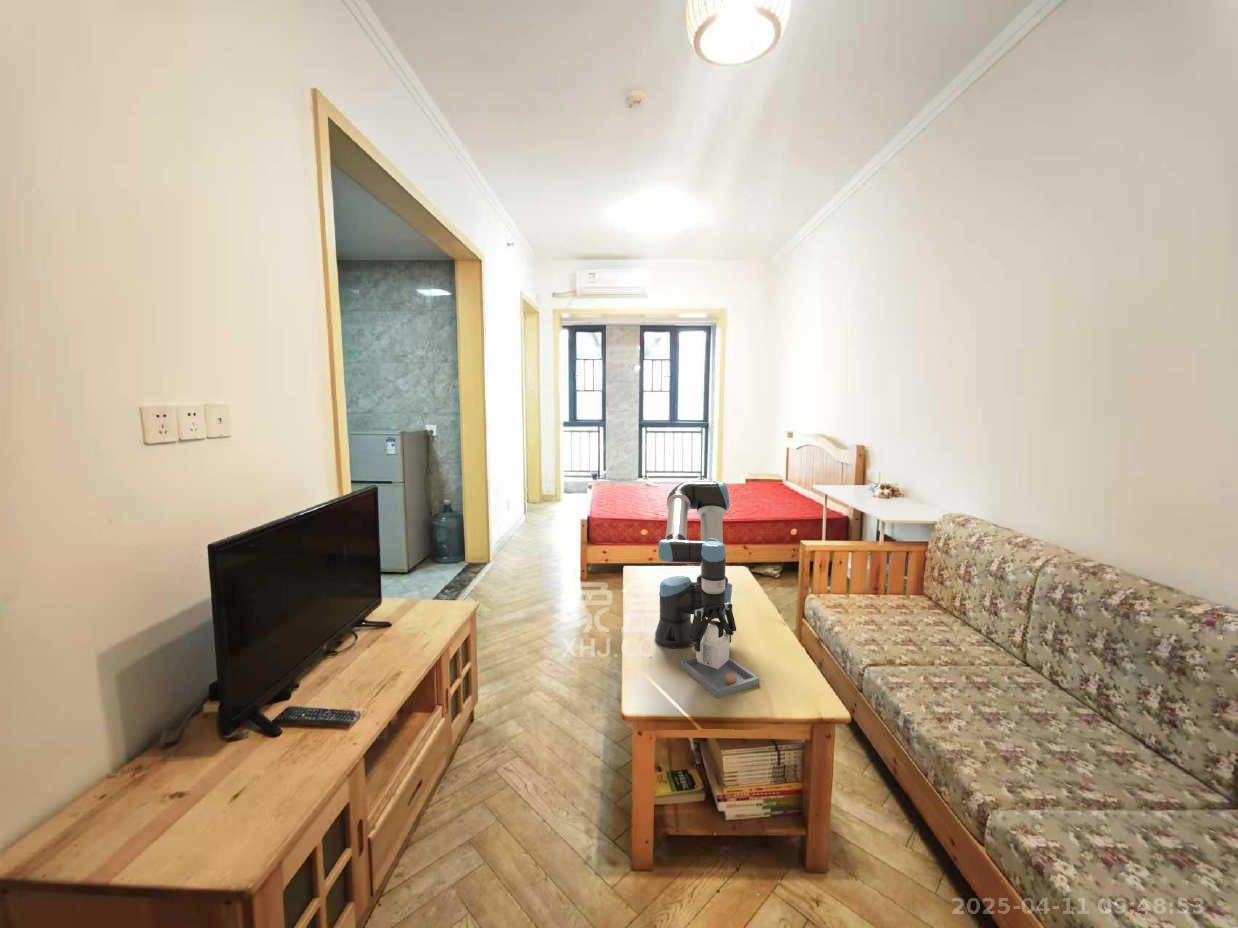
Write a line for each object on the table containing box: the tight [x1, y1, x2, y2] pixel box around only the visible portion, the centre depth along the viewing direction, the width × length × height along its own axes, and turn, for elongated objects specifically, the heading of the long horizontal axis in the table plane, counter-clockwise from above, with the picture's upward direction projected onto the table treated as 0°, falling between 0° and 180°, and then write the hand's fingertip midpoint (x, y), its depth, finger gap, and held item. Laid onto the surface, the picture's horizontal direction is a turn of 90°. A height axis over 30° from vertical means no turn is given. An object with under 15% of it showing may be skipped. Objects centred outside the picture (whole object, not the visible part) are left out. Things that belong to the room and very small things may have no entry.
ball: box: [725, 673, 736, 685], centre depth 148 cm, size 4×4×4 cm
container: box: [697, 619, 730, 669], centre depth 155 cm, size 8×8×13 cm
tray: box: [680, 656, 760, 699], centre depth 153 cm, size 20×16×3 cm
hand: (712, 656), depth 155 cm, fingers closed on container, 10 cm apart
